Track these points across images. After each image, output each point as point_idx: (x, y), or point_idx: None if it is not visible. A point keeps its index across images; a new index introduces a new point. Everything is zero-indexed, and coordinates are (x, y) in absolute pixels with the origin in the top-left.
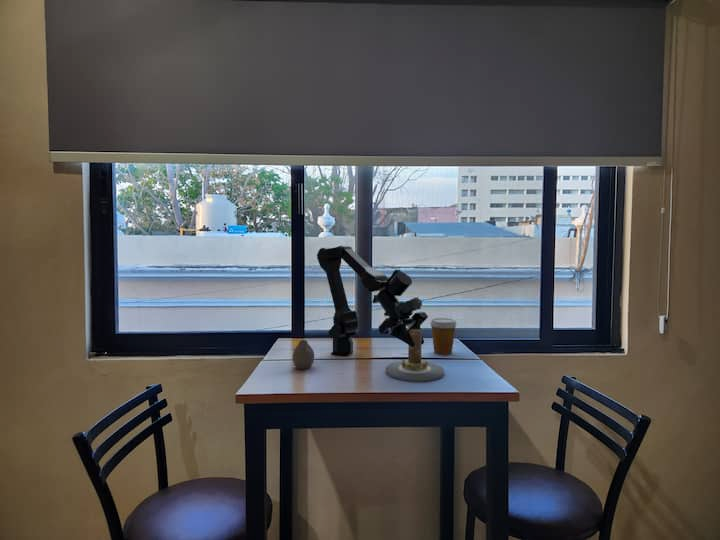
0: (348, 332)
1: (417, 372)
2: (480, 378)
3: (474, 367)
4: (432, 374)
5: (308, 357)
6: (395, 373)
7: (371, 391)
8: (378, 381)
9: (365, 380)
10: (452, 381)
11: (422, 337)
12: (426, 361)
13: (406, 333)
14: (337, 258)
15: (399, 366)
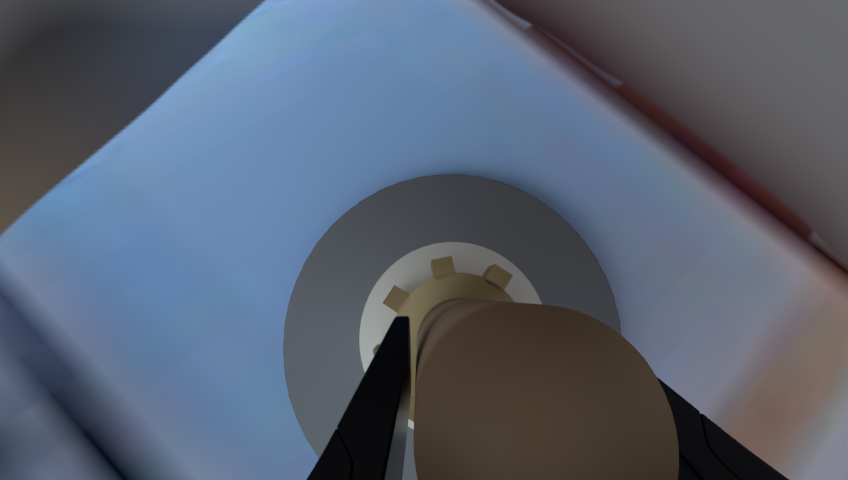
0: None
1: (507, 268)
2: (296, 62)
3: (142, 172)
4: (464, 200)
5: None
6: None
7: (818, 276)
8: (705, 360)
9: (752, 422)
10: (426, 120)
11: (381, 359)
12: (395, 293)
13: (744, 456)
14: None
15: None
